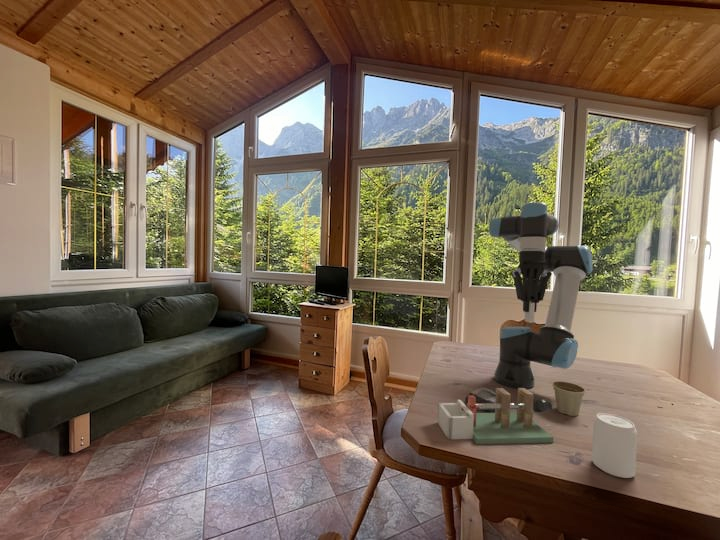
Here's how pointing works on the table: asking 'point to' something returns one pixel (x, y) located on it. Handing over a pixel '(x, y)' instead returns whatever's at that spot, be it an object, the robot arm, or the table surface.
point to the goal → (455, 420)
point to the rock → (483, 397)
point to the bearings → (522, 414)
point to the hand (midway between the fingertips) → (529, 321)
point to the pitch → (507, 431)
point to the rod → (538, 406)
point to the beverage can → (614, 445)
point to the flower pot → (568, 397)
